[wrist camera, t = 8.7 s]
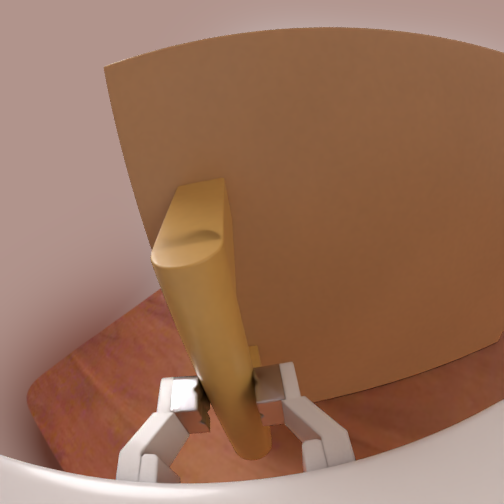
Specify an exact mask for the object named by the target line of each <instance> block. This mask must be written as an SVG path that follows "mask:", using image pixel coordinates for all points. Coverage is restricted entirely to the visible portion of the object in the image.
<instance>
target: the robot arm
mask: <svg viewBox="0 0 504 504" xmlns="http://www.w3.org/2000/svg"><path fill="white" fill-rule="evenodd" d="M253 377H254V381H255V395H256V403H257V407H258V411H259V413H260V418H261V422H262V425H263V426H270V425H278V424H285V425H286V426H287V427H288V428H289V429H290V430H291V431H292V432H293V433H294V434H295V435H296V436H297V437H298V439H299V440H300V441H301V442H302V443H303V444H302V459H303V470H304V472H303V473H298V474H292V475H286V476H279V477H272V478H265V479H256V480H247V481H235V482H221V483H190V484H180V477H179V476H178V475H177V474H176V473H175V472H174V471H172V470H171V469H170V468H169V467H170V465H171V464H172V462H173V461H174V459H175V458H176V456H177V454H178V453H179V451H180V450H181V448H182V447H183V445H184V443H185V442H186V440H187V439H188V437H189V434H196V433H207V432H210V417H209V415H208V413H207V412H208V411H209V409H210V401H209V399H208V397H207V395H206V393H205V391H204V389H203V386H202V384H201V382H200V380H199V378H198V376H184V377H169V378H162V380H161V383H160V391H159V398H158V406H157V413H153V414H152V415H151V416H150V417H149V418H148V420H147V421H146V422H145V423H144V424H143V425H142V427H141V428H140V429H139V430H138V431H137V432H136V434H135V435H134V436H133V437H132V438H131V439H130V441H129V442H128V443H127V444H126V445H125V446H124V447H123V449H122V450H121V451H120V454H119V460H118V467H117V474H116V480H114V479H105V478H98V477H91V476H85V475H79V474H74V473H68V472H63V471H59V470H54V469H49V468H45V467H41V466H37V465H33V464H29V463H26V462H22V461H19V460H16V459H12V458H9V457H6V456H3V455H0V504H504V399H502V400H501V401H499V402H497V403H496V404H494V405H492V406H490V407H488V408H486V409H485V410H483V411H481V412H479V413H477V414H475V415H473V416H471V417H469V418H467V419H465V420H463V421H461V422H459V423H457V424H455V425H452V426H450V427H448V428H446V429H444V430H441V431H439V432H437V433H434V434H432V435H429V436H427V437H424V438H422V439H419V440H417V441H414V442H412V443H409V444H406V445H403V446H401V447H398V448H395V449H392V450H389V451H386V452H383V453H380V454H376V455H373V456H370V457H366V458H363V459H359V460H355V456H354V453H353V449H352V446H351V442H350V439H349V435H348V432H347V430H346V429H344V428H343V427H342V426H341V425H339V424H338V423H337V422H336V421H335V420H333V419H332V418H331V417H330V416H328V415H327V414H326V413H325V412H324V411H322V410H321V409H320V408H319V407H317V406H316V405H315V404H314V403H313V402H312V401H310V400H309V399H308V398H307V397H306V396H301V394H300V390H299V385H298V381H297V377H296V372H295V368H294V363H293V362H286V363H281V364H273V365H268V366H262V367H256V368H253Z"/></svg>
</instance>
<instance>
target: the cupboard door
mask: <svg viewBox="0 0 504 504" xmlns="http://www.w3.org/2000/svg"><path fill="white" fill-rule="evenodd" d="M104 72H105V77H106V82H107V87H108V92H109V97H110V102H111V106H112V111H113V115H114V120H115V124H116V128H117V132H118V136H119V140H120V144H121V148H122V152H123V156H124V160H125V163H126V167H127V171H128V174H129V178H130V181H131V185H132V188H133V192H134V195H135V199H136V202H137V205H138V209H139V212H140V215H141V218H142V221H143V225H144V228H145V231H146V234H147V237H148V240H149V243H150V246H151V249H152V253H151V263H152V265H153V268H154V271H155V273H156V276H157V279H158V281H159V284H160V287H161V290H162V292H163V295H164V298H165V300H166V303H167V305H168V308H169V310H170V313H171V315H172V318H173V320H174V323H175V325H176V328H177V330H178V332H179V335H180V337H181V339H182V342H183V344H184V346H185V349H186V351H187V353H188V356H189V358H190V360H191V362H192V365H193V367H194V369H195V371H196V374H197V376H198V378H199V380H200V382H201V384H202V386H203V389H204V391H205V393H206V395H207V397H208V399H209V401H210V403H211V405H212V407H213V409H214V411H215V413H216V415H217V417H218V419H219V421H220V423H221V425H222V427H223V429H224V431H225V433H226V435H227V437H228V439H229V441H230V442H231V444H232V446H233V448H234V450H235V452H236V453H237V454H238V455H239V456H240V457H241V458H243V459H246V460H257V459H260V458H262V457H264V456H265V455H267V454H268V452H269V451H270V449H271V446H272V439H271V432H270V426H263V425H262V422H261V418H260V413H259V411H258V407H257V403H256V395H255V381H254V377H253V368H256V367H262V366H268V365H273V364H281V363H286V362H293V363H294V368H295V372H296V377H297V381H298V385H299V390H300V394H301V396H306V397H307V398H308V399H309V400H310V401H312V402H316V401H321V400H326V399H330V398H335V397H339V396H343V395H347V394H351V393H355V392H359V391H363V390H366V389H370V388H374V387H377V386H381V385H384V384H387V383H391V382H394V381H397V380H400V379H404V378H407V377H410V376H413V375H416V374H419V373H422V372H424V371H427V370H430V369H433V368H436V367H438V366H441V365H444V364H446V363H449V362H451V361H454V360H456V359H459V358H461V357H464V356H466V355H469V354H471V353H473V352H476V351H478V350H480V349H482V348H485V347H487V346H489V345H491V344H493V343H496V342H498V341H499V339H500V337H501V335H502V333H503V331H504V53H503V52H499V51H496V50H493V49H489V48H485V47H481V46H478V45H474V44H470V43H466V42H461V41H457V40H451V39H447V38H441V37H436V36H430V35H424V34H417V33H410V32H401V31H393V30H382V29H368V28H344V27H319V28H318V27H314V28H290V29H276V30H265V31H256V32H247V33H240V34H232V35H226V36H220V37H214V38H208V39H203V40H198V41H193V42H188V43H184V44H180V45H175V46H171V47H167V48H163V49H159V50H155V51H151V52H148V53H144V54H141V55H138V56H134V57H131V58H128V59H125V60H122V61H119V62H116V63H113V64H110V65H107V66H105V67H104Z"/></svg>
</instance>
